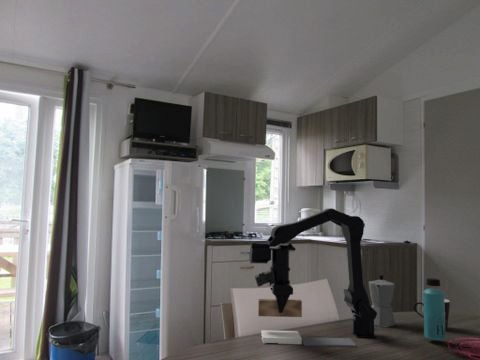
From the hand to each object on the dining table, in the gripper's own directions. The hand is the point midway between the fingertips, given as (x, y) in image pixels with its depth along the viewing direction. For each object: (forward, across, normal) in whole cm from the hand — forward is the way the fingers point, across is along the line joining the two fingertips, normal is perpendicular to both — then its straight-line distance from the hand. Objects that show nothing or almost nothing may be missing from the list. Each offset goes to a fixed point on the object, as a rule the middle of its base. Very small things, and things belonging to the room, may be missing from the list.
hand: (280, 311), depth 131 cm
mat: (+8, +6, +14) cm, 17 cm away
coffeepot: (+8, -20, +40) cm, 46 cm away
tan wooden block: (+1, 0, 0) cm, 1 cm away
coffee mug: (+8, -16, +58) cm, 60 cm away
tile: (+7, 0, 0) cm, 7 cm away
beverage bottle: (+8, +2, +49) cm, 50 cm away
